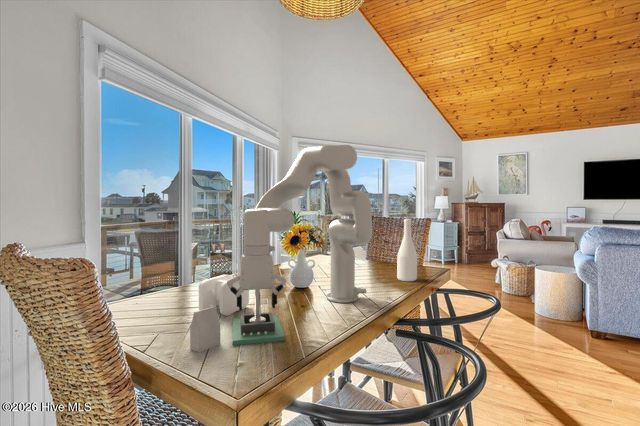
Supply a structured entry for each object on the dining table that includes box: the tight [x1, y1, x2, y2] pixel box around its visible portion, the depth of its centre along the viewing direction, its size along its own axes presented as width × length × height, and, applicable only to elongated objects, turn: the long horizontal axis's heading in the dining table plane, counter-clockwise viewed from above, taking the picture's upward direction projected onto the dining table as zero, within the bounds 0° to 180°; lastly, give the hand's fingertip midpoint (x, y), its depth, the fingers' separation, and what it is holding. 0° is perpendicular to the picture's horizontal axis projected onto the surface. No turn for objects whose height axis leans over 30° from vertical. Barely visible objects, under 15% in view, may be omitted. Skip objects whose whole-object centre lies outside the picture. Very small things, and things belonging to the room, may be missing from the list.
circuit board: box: [232, 312, 286, 346], centre depth 104 cm, size 14×18×4 cm
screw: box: [249, 289, 266, 323], centre depth 104 cm, size 13×5×5 cm
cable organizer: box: [198, 274, 250, 317], centre depth 123 cm, size 15×11×12 cm
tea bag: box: [189, 306, 221, 353], centre depth 93 cm, size 4×7×10 cm, turn 145°
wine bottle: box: [396, 218, 418, 282], centre depth 172 cm, size 10×10×30 cm
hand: (257, 307), depth 104 cm, fingers open, 9 cm apart
